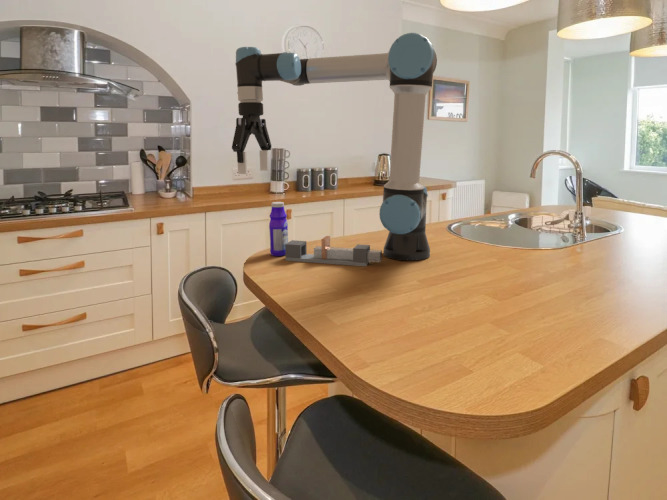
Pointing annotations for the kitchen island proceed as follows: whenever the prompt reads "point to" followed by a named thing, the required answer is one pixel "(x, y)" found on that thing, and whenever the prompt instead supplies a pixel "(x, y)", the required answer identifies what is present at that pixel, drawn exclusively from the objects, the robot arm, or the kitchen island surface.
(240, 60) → the robot arm
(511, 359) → the kitchen island surface
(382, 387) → the kitchen island surface
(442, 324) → the kitchen island surface
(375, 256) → the long square rod
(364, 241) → the kitchen island surface
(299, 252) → the rail
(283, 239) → the bottle
